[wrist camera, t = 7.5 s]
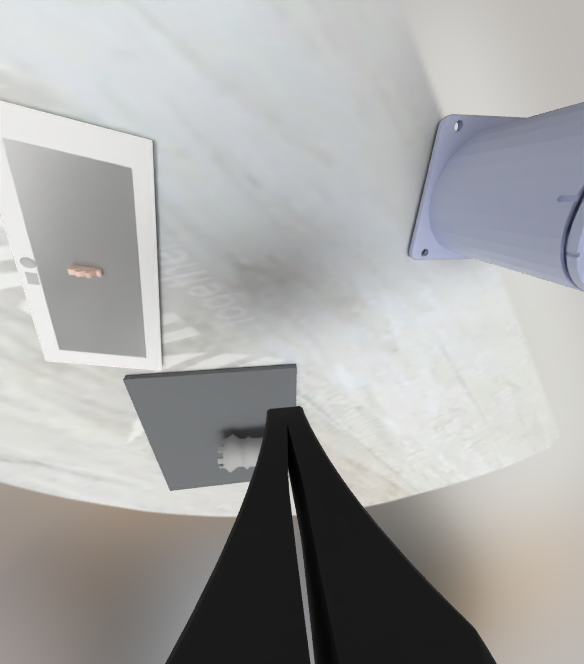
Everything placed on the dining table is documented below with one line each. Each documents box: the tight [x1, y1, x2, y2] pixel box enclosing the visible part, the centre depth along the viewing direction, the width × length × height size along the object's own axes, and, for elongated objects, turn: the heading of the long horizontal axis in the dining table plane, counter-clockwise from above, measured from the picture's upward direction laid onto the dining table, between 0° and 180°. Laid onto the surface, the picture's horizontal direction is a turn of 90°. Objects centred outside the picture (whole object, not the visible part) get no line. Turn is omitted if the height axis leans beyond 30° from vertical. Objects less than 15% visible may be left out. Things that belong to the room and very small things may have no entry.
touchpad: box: [0, 101, 162, 371], centre depth 15 cm, size 8×15×2 cm, turn 168°
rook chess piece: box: [218, 434, 289, 476], centre depth 23 cm, size 4×4×8 cm
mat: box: [123, 364, 297, 491], centre depth 25 cm, size 14×16×1 cm
